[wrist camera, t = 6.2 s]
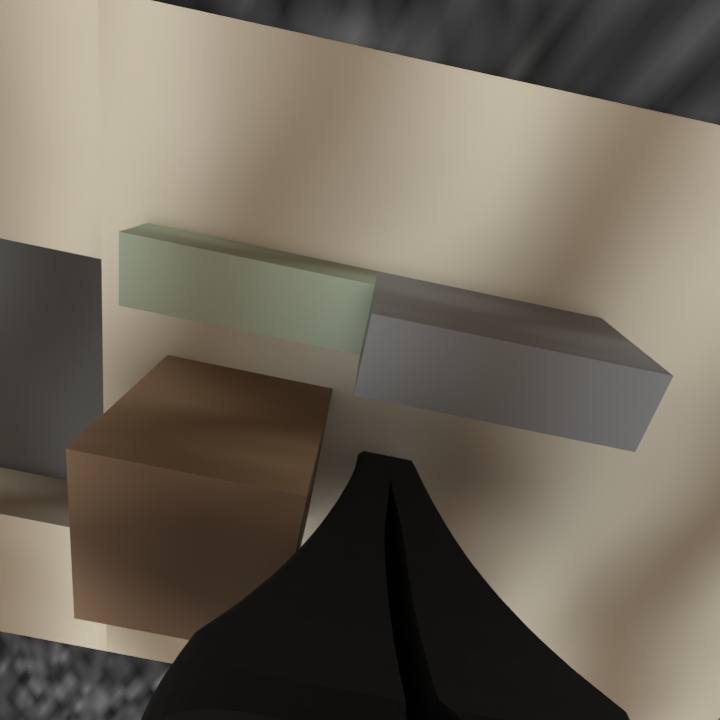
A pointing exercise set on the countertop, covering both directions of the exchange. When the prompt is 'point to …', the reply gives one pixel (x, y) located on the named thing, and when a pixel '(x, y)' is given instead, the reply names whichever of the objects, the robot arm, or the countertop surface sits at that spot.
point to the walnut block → (190, 494)
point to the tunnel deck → (376, 309)
